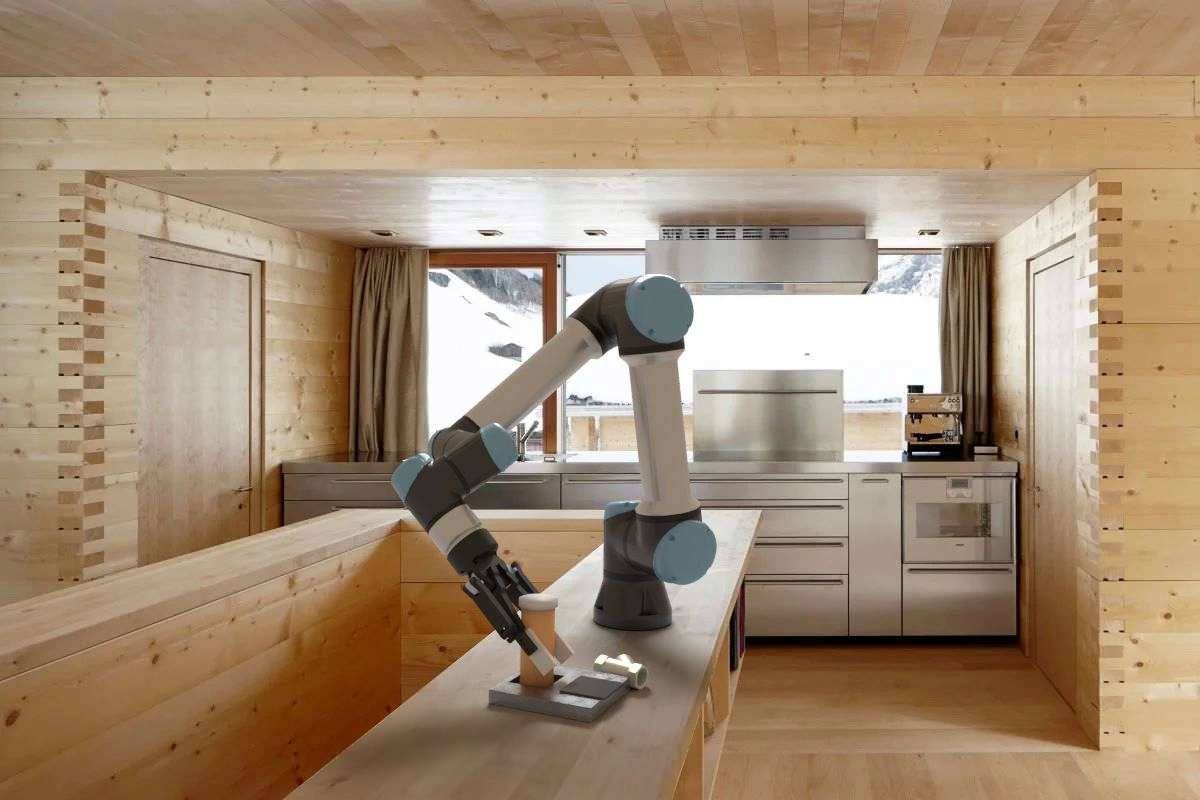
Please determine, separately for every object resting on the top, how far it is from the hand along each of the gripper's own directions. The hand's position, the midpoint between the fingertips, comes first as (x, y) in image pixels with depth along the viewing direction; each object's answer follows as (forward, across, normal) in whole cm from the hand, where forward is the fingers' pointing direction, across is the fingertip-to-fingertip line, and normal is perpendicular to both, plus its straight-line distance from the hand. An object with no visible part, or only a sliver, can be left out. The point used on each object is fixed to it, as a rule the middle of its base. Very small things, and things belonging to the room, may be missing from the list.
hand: (559, 663), depth 134 cm
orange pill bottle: (+1, 0, -6) cm, 6 cm away
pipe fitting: (+8, -11, +1) cm, 14 cm away
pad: (+6, 0, +2) cm, 6 cm away
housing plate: (+4, 0, -3) cm, 5 cm away
